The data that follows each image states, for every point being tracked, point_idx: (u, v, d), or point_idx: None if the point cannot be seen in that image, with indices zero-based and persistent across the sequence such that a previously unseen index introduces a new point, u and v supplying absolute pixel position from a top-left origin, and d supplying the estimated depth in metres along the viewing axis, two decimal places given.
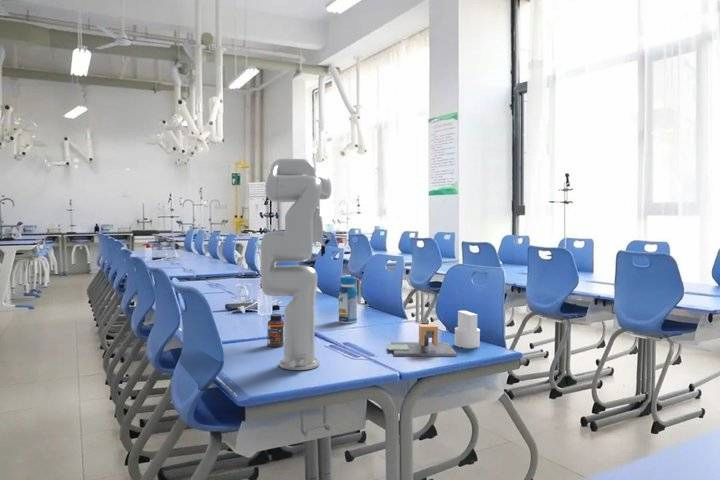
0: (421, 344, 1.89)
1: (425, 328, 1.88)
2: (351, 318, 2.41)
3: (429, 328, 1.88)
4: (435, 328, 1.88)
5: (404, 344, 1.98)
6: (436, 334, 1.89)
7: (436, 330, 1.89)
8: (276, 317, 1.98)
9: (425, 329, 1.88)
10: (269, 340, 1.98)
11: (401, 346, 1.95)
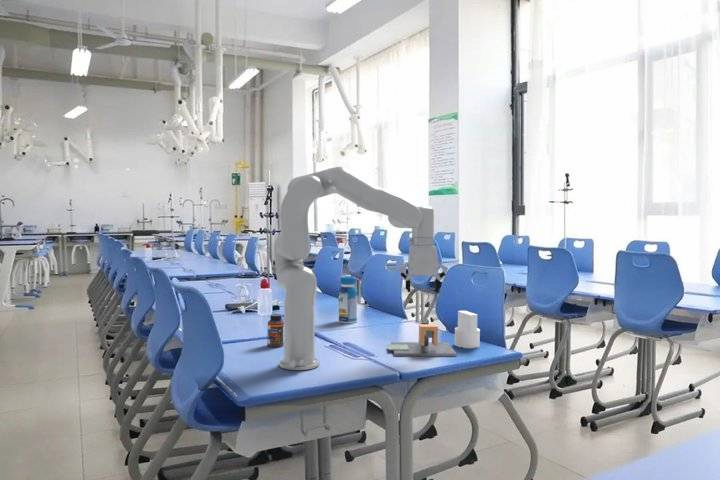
0: (421, 344, 1.89)
1: (425, 328, 1.88)
2: (351, 318, 2.41)
3: (429, 328, 1.88)
4: (435, 328, 1.88)
5: (404, 344, 1.98)
6: (436, 334, 1.89)
7: (436, 330, 1.89)
8: (276, 317, 1.98)
9: (425, 329, 1.88)
10: (269, 340, 1.98)
11: (401, 346, 1.95)
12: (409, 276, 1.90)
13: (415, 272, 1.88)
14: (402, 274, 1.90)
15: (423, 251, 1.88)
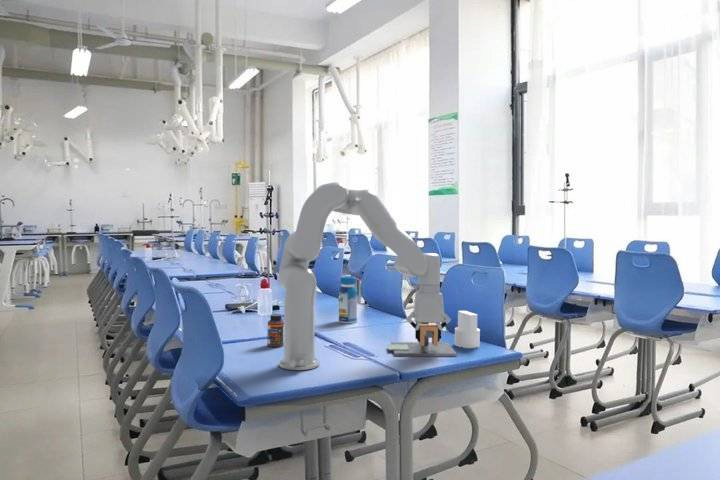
0: (421, 344, 1.89)
1: (425, 328, 1.88)
2: (351, 318, 2.41)
3: (429, 328, 1.88)
4: (435, 328, 1.88)
5: (404, 344, 1.98)
6: (436, 334, 1.89)
7: (436, 330, 1.89)
8: (276, 317, 1.98)
9: (425, 329, 1.88)
10: (269, 340, 1.98)
11: (401, 346, 1.95)
12: (418, 325, 1.89)
13: (421, 319, 1.87)
14: (412, 323, 1.89)
15: (429, 299, 1.87)
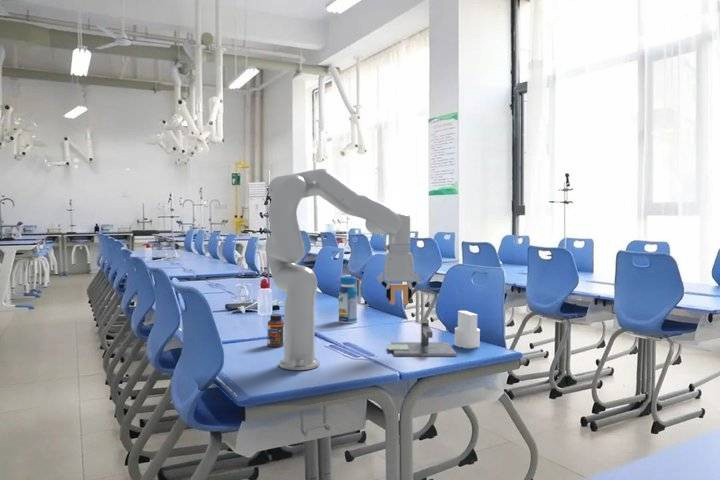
0: (391, 303, 1.91)
1: (395, 287, 1.91)
2: (351, 318, 2.41)
3: (399, 287, 1.91)
4: (405, 287, 1.91)
5: (404, 344, 1.98)
6: (406, 293, 1.91)
7: (406, 289, 1.91)
8: (276, 317, 1.98)
9: (395, 288, 1.91)
10: (269, 340, 1.98)
11: (401, 346, 1.95)
12: (389, 284, 1.92)
13: (391, 278, 1.90)
14: (383, 283, 1.92)
15: (399, 258, 1.90)
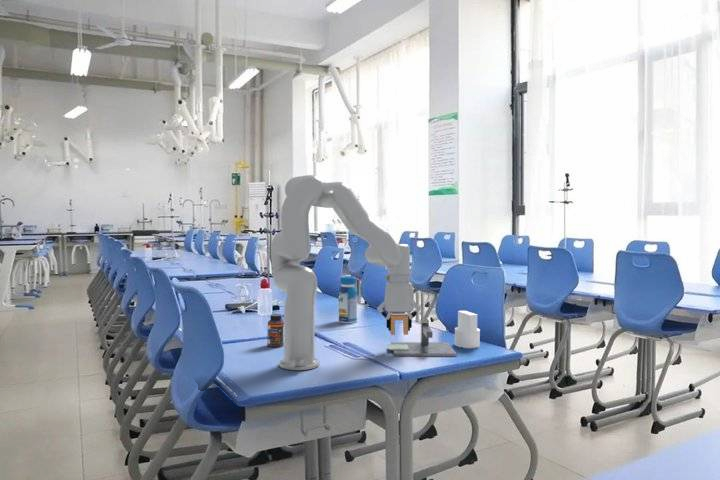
0: (392, 333, 1.92)
1: (395, 317, 1.92)
2: (351, 318, 2.41)
3: (399, 317, 1.92)
4: (405, 317, 1.92)
5: (404, 344, 1.98)
6: (406, 323, 1.92)
7: (406, 319, 1.92)
8: (276, 317, 1.98)
9: (395, 318, 1.92)
10: (269, 340, 1.98)
11: (401, 346, 1.95)
12: (389, 314, 1.92)
13: (391, 309, 1.91)
14: (383, 313, 1.93)
15: (399, 288, 1.90)
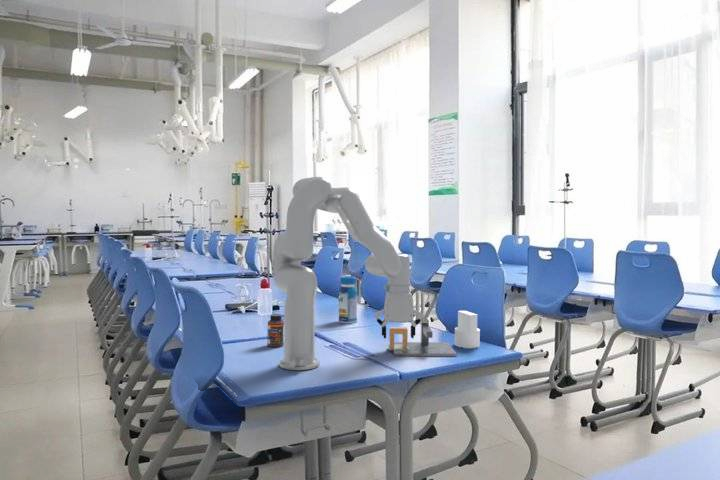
0: (391, 346, 1.92)
1: (395, 331, 1.92)
2: (351, 318, 2.41)
3: (399, 331, 1.92)
4: (405, 331, 1.92)
5: None
6: (406, 337, 1.92)
7: (406, 333, 1.92)
8: (276, 317, 1.98)
9: (395, 332, 1.92)
10: (269, 340, 1.98)
11: (401, 346, 1.95)
12: (385, 322, 1.92)
13: (391, 319, 1.91)
14: (378, 320, 1.93)
15: (399, 299, 1.90)
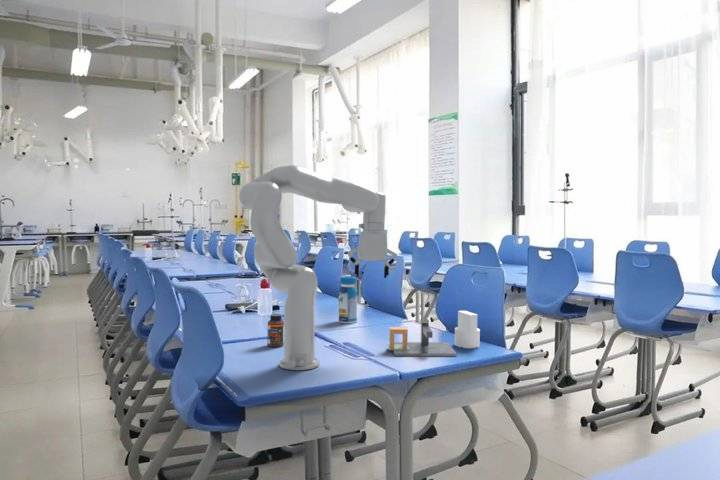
0: (391, 346, 1.92)
1: (395, 331, 1.92)
2: (351, 318, 2.41)
3: (399, 331, 1.92)
4: (405, 331, 1.92)
5: None
6: (406, 337, 1.92)
7: (406, 333, 1.92)
8: (276, 317, 1.98)
9: (395, 332, 1.92)
10: (269, 340, 1.98)
11: (401, 346, 1.95)
12: (358, 261, 1.90)
13: (364, 257, 1.89)
14: (351, 258, 1.91)
15: (373, 236, 1.88)
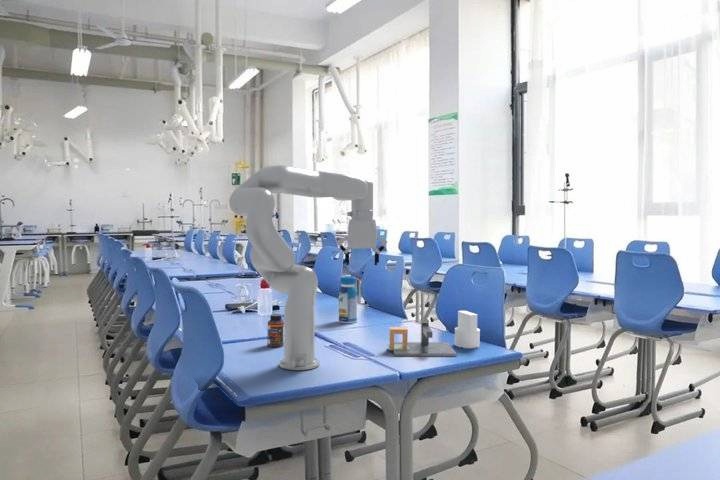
0: (391, 346, 1.92)
1: (395, 331, 1.92)
2: (351, 318, 2.41)
3: (399, 331, 1.92)
4: (405, 331, 1.92)
5: None
6: (406, 337, 1.92)
7: (406, 333, 1.92)
8: (276, 317, 1.98)
9: (395, 332, 1.92)
10: (269, 340, 1.98)
11: (401, 346, 1.95)
12: (348, 249, 1.90)
13: (353, 245, 1.88)
14: (341, 247, 1.90)
15: (362, 224, 1.88)
